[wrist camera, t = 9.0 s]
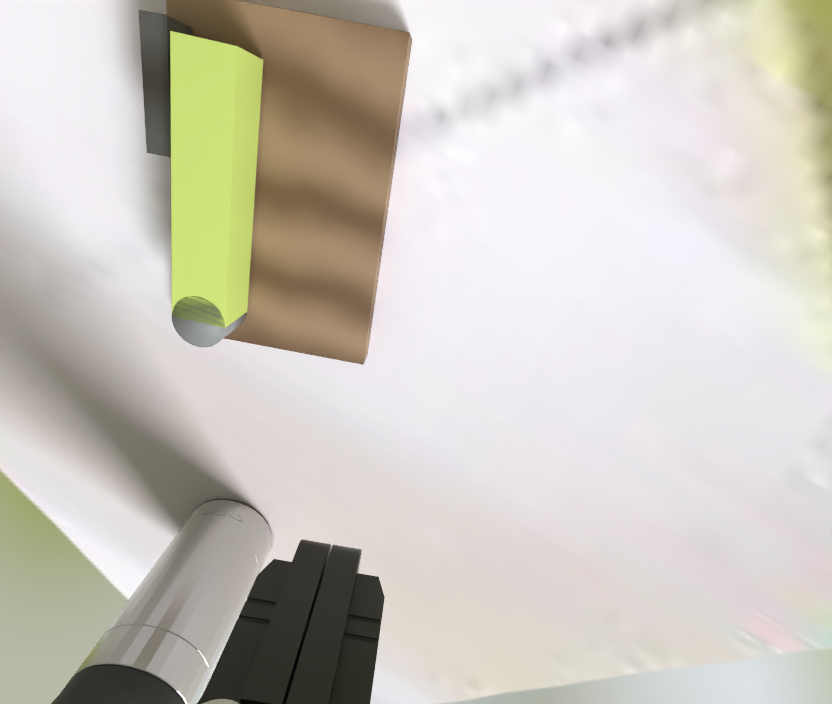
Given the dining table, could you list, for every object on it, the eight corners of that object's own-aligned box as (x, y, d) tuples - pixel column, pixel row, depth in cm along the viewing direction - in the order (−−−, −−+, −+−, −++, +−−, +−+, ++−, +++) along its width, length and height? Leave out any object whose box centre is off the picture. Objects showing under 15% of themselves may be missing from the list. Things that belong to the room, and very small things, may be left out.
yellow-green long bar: (245, 333, 38) (223, 352, 35) (198, 323, 38) (171, 340, 35) (263, 59, 30) (237, 46, 27) (204, 46, 30) (170, 30, 27)
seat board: (367, 355, 41) (356, 380, 36) (191, 322, 41) (157, 342, 36) (411, 39, 31) (405, 19, 27) (182, -4, 31) (136, -32, 27)
